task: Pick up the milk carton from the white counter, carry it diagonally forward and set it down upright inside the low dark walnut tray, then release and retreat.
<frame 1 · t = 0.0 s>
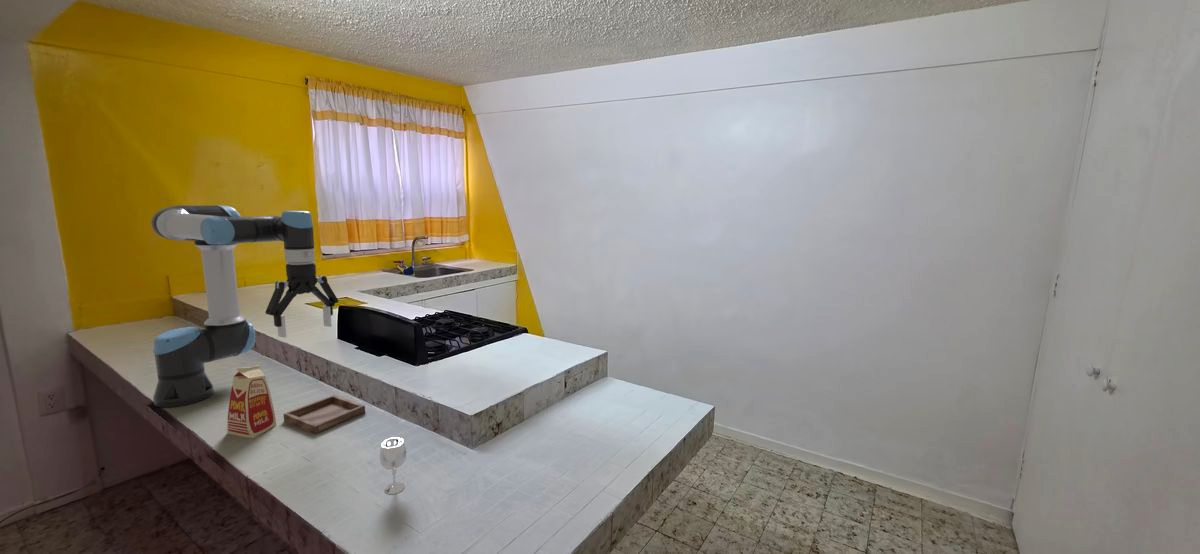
hand: (306, 331, 140), 28 cm above the table, fingers open, 13 cm apart
tray: (325, 416, 144), on the table
wineglass: (394, 489, 110), on the table
milk carton: (253, 429, 136), on the table
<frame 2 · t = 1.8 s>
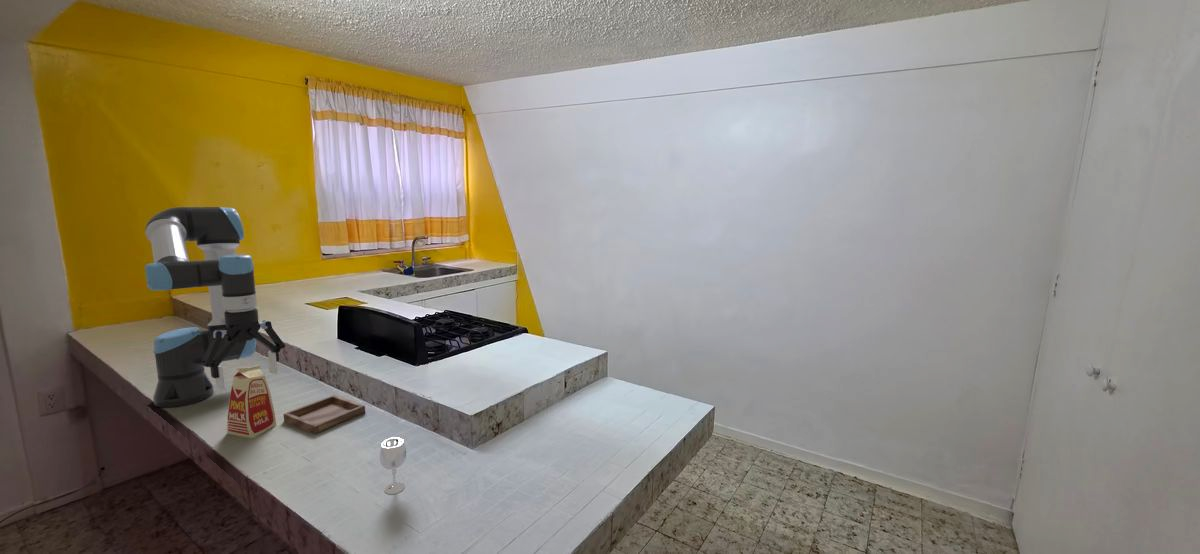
hand: (248, 380, 133), 15 cm above the table, fingers open, 13 cm apart
nothing on the table moved.
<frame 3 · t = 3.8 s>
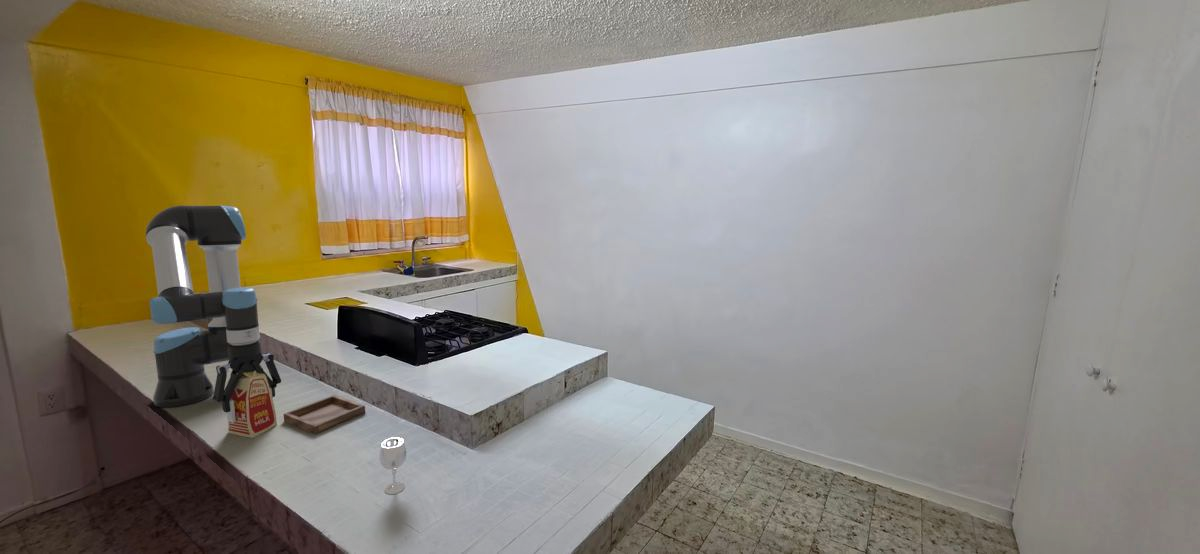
hand: (251, 414, 135), 5 cm above the table, fingers closed on milk carton, 9 cm apart
milk carton: (254, 428, 136), on the table, touching gripper
everything else where it was.
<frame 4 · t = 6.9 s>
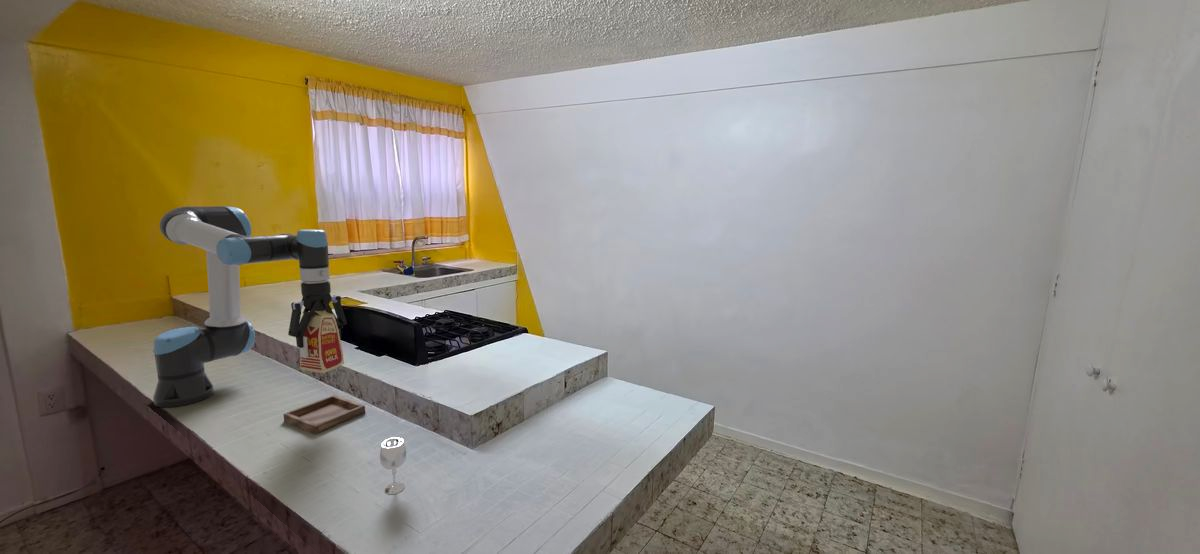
hand: (320, 352, 141), 21 cm above the table, fingers closed on milk carton, 9 cm apart
milk carton: (323, 367, 142), point 17 cm above the table, touching gripper
everything else where it was.
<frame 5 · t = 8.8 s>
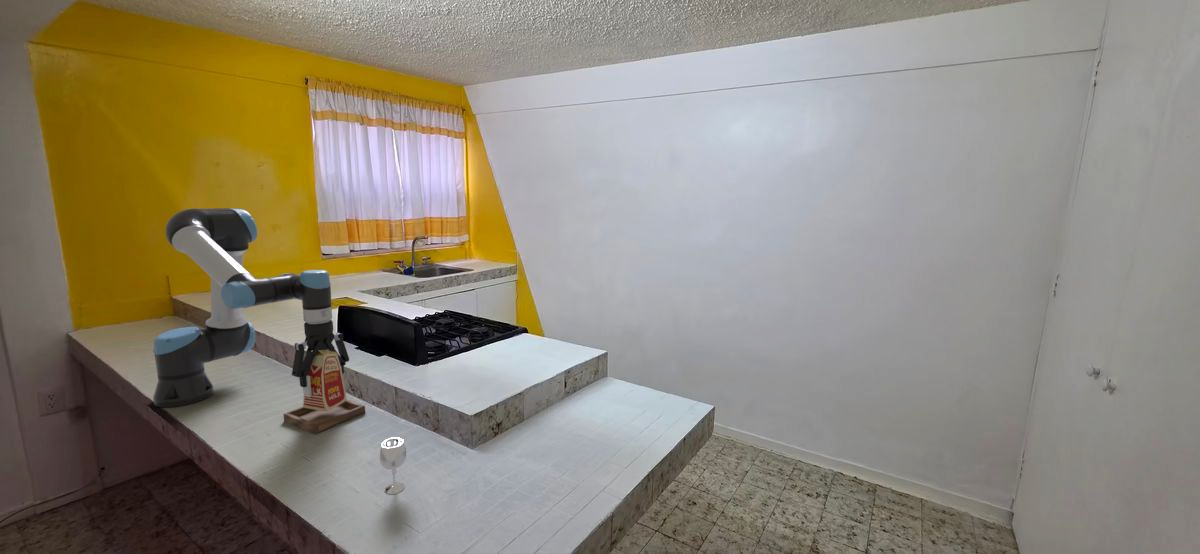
hand: (323, 390, 143), 9 cm above the table, fingers closed on milk carton, 9 cm apart
milk carton: (326, 404, 144), point 4 cm above the table, touching gripper
everything else where it was.
when the fingers open (6 cm above the table, at t = 10.4 s): milk carton drops 1 cm, resting on tray.
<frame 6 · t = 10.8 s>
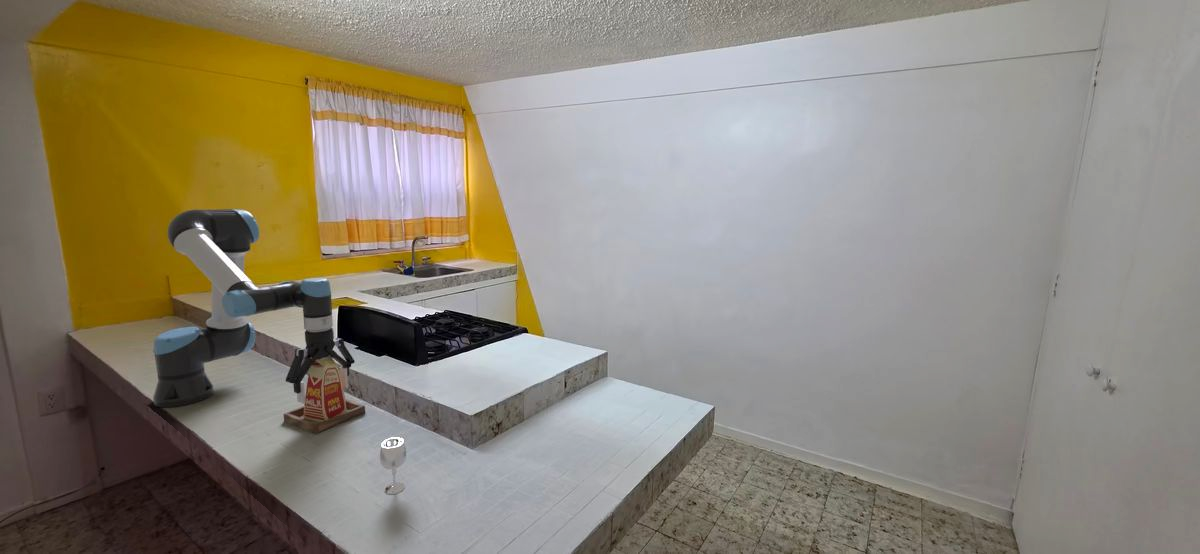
hand: (323, 394, 143), 8 cm above the table, fingers open, 13 cm apart
milk carton: (326, 415, 144), resting on tray
everything else where it was.
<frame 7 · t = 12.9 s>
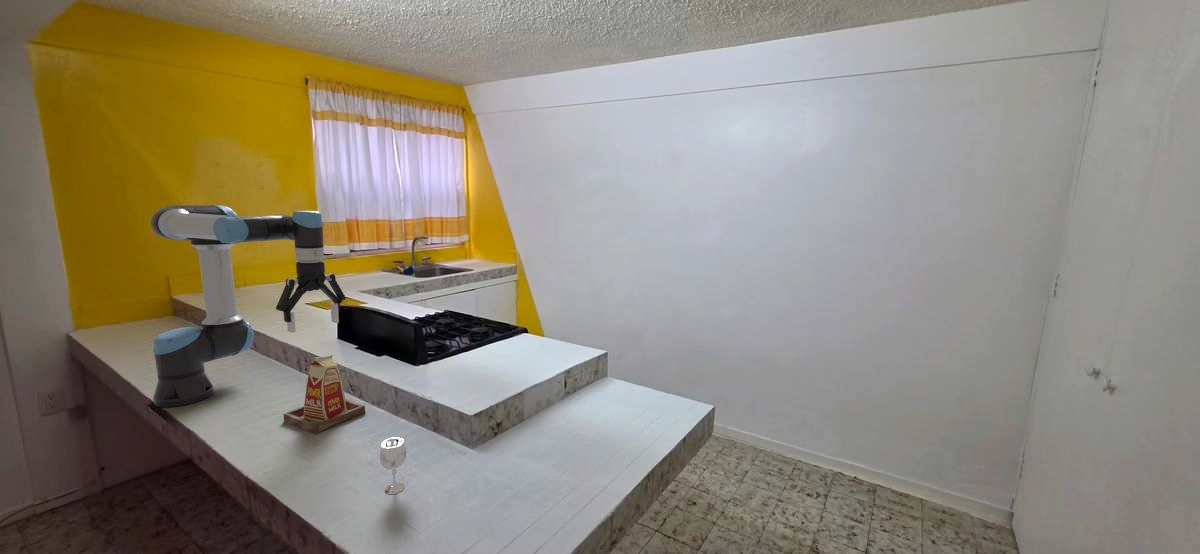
hand: (314, 326, 145), 28 cm above the table, fingers open, 13 cm apart
nothing on the table moved.
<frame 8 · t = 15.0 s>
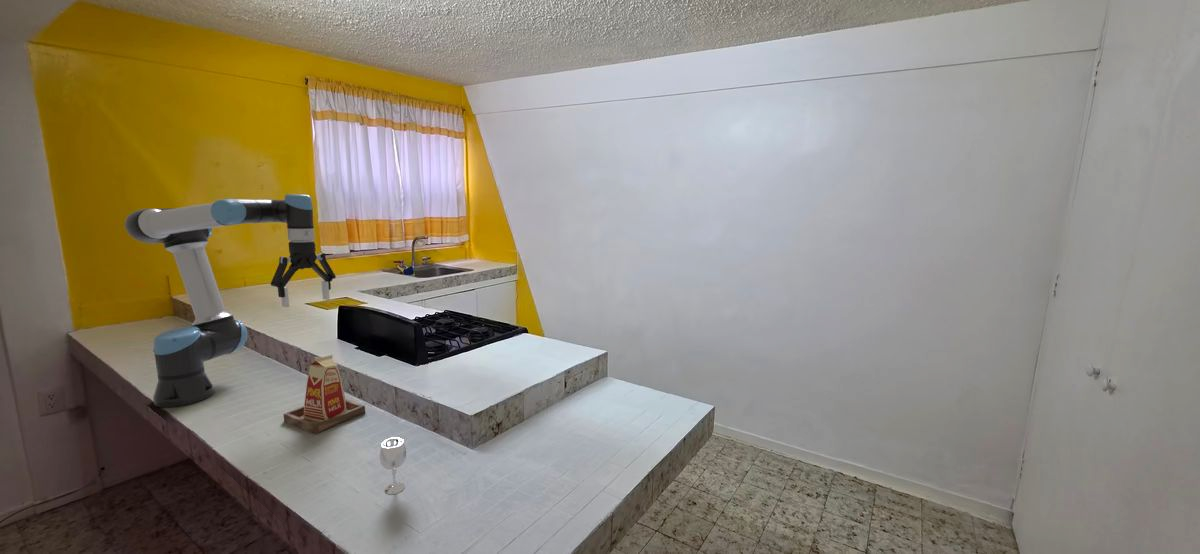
hand: (306, 302, 156), 33 cm above the table, fingers open, 13 cm apart
nothing on the table moved.
at the end: milk carton inside the target area on the tray (0.3 cm from its centre), point 0.4 cm above the tray's base; milk carton tilted 0°; the gripper is holding nothing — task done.
